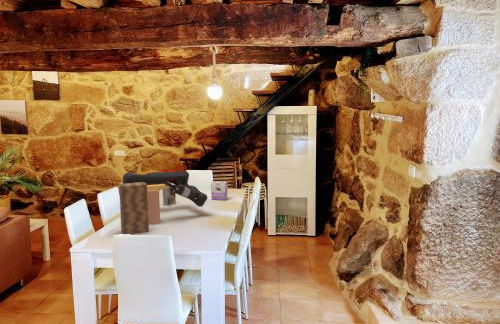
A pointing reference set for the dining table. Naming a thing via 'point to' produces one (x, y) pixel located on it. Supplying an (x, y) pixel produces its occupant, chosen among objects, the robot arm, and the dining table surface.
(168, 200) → the coffee box
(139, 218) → the plinth
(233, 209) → the dining table surface
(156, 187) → the dowel
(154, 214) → the terracotta base
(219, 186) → the candy box
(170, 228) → the dining table surface
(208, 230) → the dining table surface
